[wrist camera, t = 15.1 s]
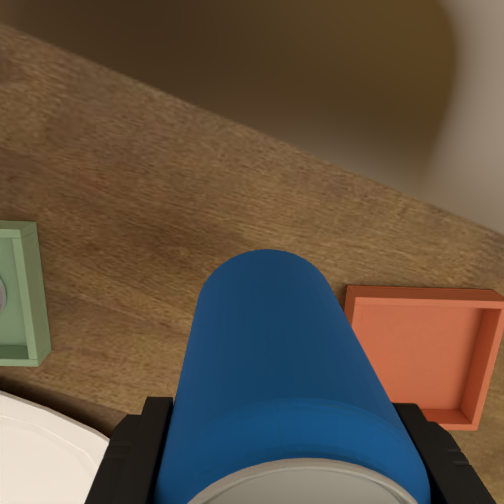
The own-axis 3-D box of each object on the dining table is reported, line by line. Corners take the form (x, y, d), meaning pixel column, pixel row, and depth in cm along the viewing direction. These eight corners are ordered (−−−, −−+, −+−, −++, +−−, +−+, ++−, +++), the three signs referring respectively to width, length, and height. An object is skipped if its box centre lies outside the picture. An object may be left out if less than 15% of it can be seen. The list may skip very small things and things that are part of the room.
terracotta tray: (347, 284, 30) (355, 296, 28) (493, 289, 31) (511, 301, 28) (331, 409, 33) (337, 428, 31) (462, 411, 34) (477, 430, 32)
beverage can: (297, 380, 21) (366, 695, 10) (179, 340, 20) (99, 636, 9) (354, 272, 19) (523, 503, 8) (227, 222, 18) (205, 402, 7)
